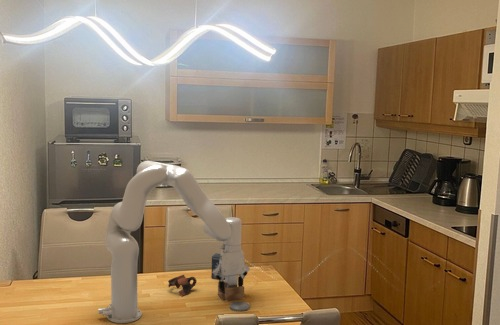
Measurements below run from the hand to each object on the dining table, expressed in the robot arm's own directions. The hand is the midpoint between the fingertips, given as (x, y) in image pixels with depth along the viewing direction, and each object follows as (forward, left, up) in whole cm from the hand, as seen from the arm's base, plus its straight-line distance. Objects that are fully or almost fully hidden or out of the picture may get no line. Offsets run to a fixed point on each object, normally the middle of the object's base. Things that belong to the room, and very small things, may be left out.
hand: (231, 288), depth 219 cm
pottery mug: (-18, +12, -4) cm, 21 cm away
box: (+4, +22, -4) cm, 23 cm away
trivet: (-1, -12, -3) cm, 13 cm away
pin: (0, 0, -3) cm, 3 cm away
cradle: (0, 0, -3) cm, 3 cm away
